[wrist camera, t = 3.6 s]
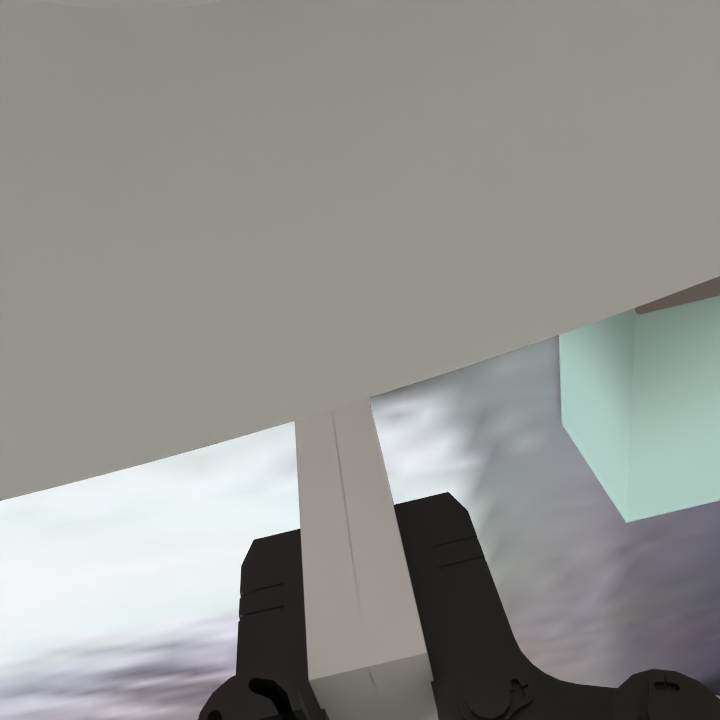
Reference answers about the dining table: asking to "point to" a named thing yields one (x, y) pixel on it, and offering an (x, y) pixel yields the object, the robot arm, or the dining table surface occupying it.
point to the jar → (326, 203)
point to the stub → (648, 401)
